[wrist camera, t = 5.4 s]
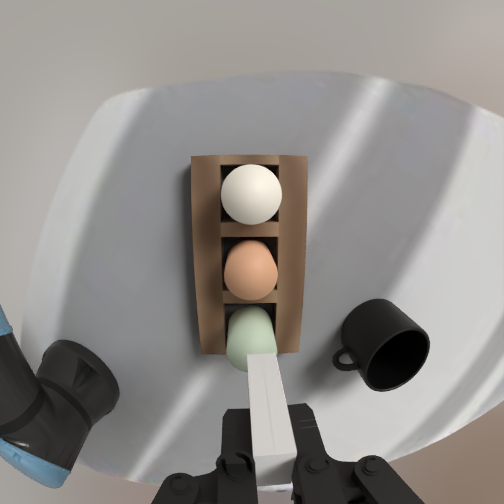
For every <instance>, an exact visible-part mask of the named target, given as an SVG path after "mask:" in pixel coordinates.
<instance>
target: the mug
mask: <svg viewBox="0 0 504 504" xmlns="http://www.w3.org/2000/svg"><path fill="white" fill-rule="evenodd" d="M342 344H343V346H344V347H343V348H342V349H340V350H338V351H337V352H336V353H335V354H334V356H333V360H332V362H333V365H334V366H335V368H337V369H339V370H342V371H351V370H358V372H359V373H360V375H361V377H362V378H363V380H364V382H365V383H366V385H367V386H368V387H369V388H370V389H372V390H374V391H379V392H385V391H390V390H393V389H396V388H398V387H400V386H402V385H404V384H405V383H407V382H408V381H409V380H411V379H412V378H413V377H414V376H415V375H416V374H417V373H418V371H419V370H420V369H421V368H422V366H423V364H424V363H425V361H426V359H427V356H428V353H429V349H430V341H429V337H428V335H427V333H426V332H425V331H424V330H423V329H422V328H421V327H420V326H419V325H417V324H416V323H415V322H414V321H413V320H412V319H411V318H409V317H408V316H407V315H406V314H405V313H404V312H402V311H401V310H400V309H399V308H398V307H396V306H395V305H394V304H393V303H392V302H390V301H388V300H385V299H373V300H369V301H367V302H364V303H362V304H361V305H359V306H358V307H357V308H355V309H354V310H353V311H352V312H351V314H350V315H349V316H348V318H347V319H346V321H345V323H344V326H343V329H342ZM343 354H348V355H349V356H350V358H351V360H352V361H353V364H342V363H340V362H339V357H340V356H342V355H343Z"/></svg>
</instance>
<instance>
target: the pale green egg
mask: <svg viewBox="0 0 504 504" xmlns="http://www.w3.org/2000/svg"><path fill="white" fill-rule="evenodd" d="M267 353H276V356H277V346H276V342H275V337H274V332H273V328H272V323H271V319H270V316H269V315H268V313H267V312H266V311H265V310H264V309H262V308H260V307H257V306H251V305H249V306H243V307H241V308H239V309H237V310H236V311H234V313H233V314H232V315H231V317H230V319H229V326H228V338H227V350H226V354H227V358H228V360H229V362H230V363H231V364H232V365H233V366H234V367H235V368H237V369H239V370H241V371H245V372H248V364H247V354H267Z"/></svg>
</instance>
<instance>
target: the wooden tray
mask: <svg viewBox="0 0 504 504" xmlns="http://www.w3.org/2000/svg"><path fill="white" fill-rule="evenodd" d="M249 164H253V165H260V166H263V167H275V176H276V178H277V179H278V181H279V183H280V186H281V190H282V199H281V203H280V206H279V208H278V210H277V211H276V213H275V219H268V220H267V221H265V222H263V223H260V224H254V225H249V224H243V223H240V222H238V221H236V220H234V219H223V211H222V200H221V189H222V167H240V166H243V165H249ZM307 177H308V166H307V156H289V155H209V156H191V205H192V235H193V256H194V273H195V287H196V300H197V312H198V323H199V333H200V343H201V352H202V354H226V350H227V338H228V336H227V333H226V312H225V303H274V305H273V332H274V337H275V342H276V346H277V353H294V352H299V343H300V332H301V320H302V307H303V292H304V276H305V257H306V232H307ZM223 237H275V264H276V267H277V271H278V278H277V282H276V285H275V287H274V288H273V290H272V291H271V292H270V293H269V294H268V295H266V296H265V297H263V298H261V299H258V300H244V299H241V298H238V297H237V296H235V295H234V294H232V293H231V292H230V290H229V289H228V287H227V286H226V283H225V282H224V257H223Z"/></svg>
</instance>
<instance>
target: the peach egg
mask: <svg viewBox="0 0 504 504" xmlns="http://www.w3.org/2000/svg"><path fill="white" fill-rule="evenodd" d="M277 278H278V271H277V267H276V264H275V262H274V260H273V258H272V255H271V253H270V251H269V249H268V247H267V246H266V245H265V244H264V243H263V242H262V241H260V240H258V239H255V238H243V239H240V240H238V241H237V242H235V243H234V244H233V245H232V247H231V248H230V250H229V253H228V257H227V261H226V266H225V272H224V279H225V283H226V286H227V287H228V289H229V290H230V292H231V293H232V294H234V295H235V296H237V297H238V298H241V299H244V300H258V299H261V298H263V297H265V296H266V295H268V294H269V293H270V292H271V291H272V290H273V288H274V287H275V285H276V282H277Z"/></svg>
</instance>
